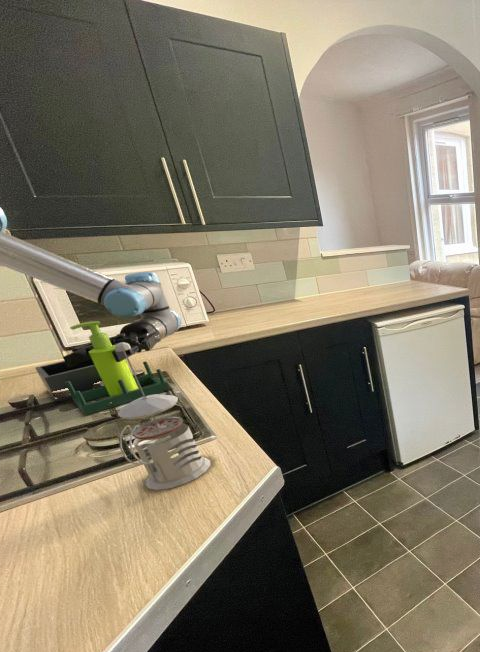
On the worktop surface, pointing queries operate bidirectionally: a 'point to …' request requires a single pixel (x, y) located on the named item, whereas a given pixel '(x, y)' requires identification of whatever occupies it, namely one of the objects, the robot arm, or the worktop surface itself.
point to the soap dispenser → (108, 361)
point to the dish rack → (120, 399)
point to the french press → (163, 467)
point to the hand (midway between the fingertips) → (91, 359)
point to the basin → (69, 376)
